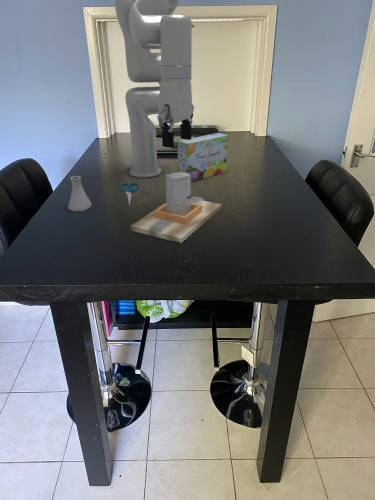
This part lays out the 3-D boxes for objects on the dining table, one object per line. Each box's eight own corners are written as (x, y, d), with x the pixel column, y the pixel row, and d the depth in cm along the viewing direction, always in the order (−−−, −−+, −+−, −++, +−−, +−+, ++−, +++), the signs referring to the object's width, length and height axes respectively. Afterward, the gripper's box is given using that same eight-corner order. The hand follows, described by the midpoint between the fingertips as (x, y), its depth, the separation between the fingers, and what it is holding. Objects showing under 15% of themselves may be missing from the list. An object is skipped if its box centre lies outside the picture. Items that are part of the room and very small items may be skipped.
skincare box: (173, 219, 109) (172, 178, 103) (165, 214, 112) (164, 174, 106) (191, 214, 112) (191, 174, 106) (183, 209, 115) (183, 170, 109)
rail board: (131, 230, 106) (130, 219, 104) (176, 199, 126) (176, 189, 124) (181, 243, 99) (181, 231, 97) (220, 208, 119) (221, 198, 117)
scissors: (138, 182, 139) (139, 203, 122) (138, 185, 140) (140, 206, 122) (120, 183, 138) (118, 205, 121) (120, 186, 139) (119, 207, 122)
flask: (96, 205, 122) (92, 175, 117) (83, 213, 116) (79, 182, 111) (77, 202, 124) (72, 172, 119) (63, 210, 118) (58, 179, 113)
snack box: (187, 184, 139) (186, 143, 132) (177, 180, 143) (176, 140, 135) (226, 172, 151) (228, 134, 144) (216, 169, 155) (218, 131, 148)
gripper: (180, 70, 102) (180, 135, 110) (144, 75, 88) (148, 148, 97) (205, 71, 99) (203, 137, 107) (172, 76, 85) (173, 152, 94)
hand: (177, 142), depth 102 cm, fingers open, 9 cm apart
